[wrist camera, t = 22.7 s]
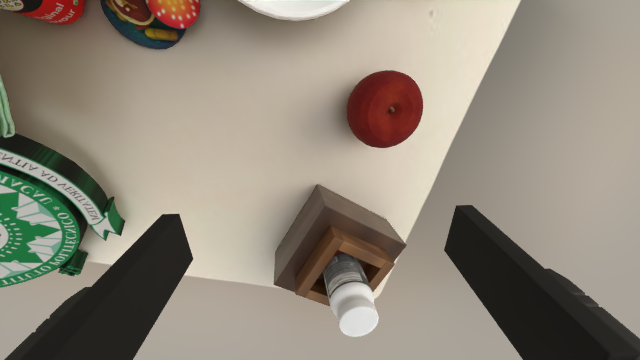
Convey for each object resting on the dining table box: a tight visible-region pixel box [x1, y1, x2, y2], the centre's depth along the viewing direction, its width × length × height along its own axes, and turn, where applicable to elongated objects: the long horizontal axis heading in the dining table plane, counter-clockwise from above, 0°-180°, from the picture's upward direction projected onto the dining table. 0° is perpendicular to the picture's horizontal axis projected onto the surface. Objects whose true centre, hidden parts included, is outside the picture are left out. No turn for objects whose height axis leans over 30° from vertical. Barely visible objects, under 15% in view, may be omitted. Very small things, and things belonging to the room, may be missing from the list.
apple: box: [346, 71, 423, 148], centre depth 32 cm, size 10×10×10 cm
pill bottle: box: [323, 251, 378, 337], centre depth 32 cm, size 6×6×10 cm
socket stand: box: [274, 184, 406, 306], centre depth 39 cm, size 15×15×11 cm
